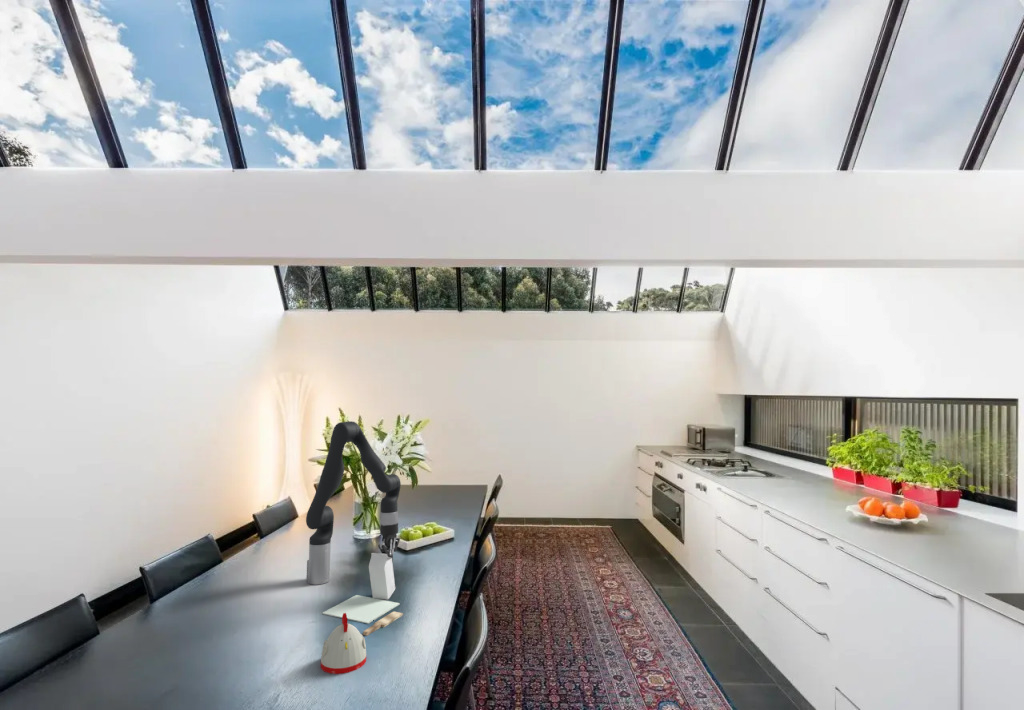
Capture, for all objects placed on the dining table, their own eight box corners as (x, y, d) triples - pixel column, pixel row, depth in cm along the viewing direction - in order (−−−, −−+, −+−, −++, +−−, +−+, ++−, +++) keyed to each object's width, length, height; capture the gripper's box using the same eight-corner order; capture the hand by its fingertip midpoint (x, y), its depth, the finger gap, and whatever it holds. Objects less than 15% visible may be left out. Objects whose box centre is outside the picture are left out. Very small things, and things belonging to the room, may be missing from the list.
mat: (322, 613, 207) (322, 612, 207) (356, 595, 225) (356, 594, 225) (368, 623, 198) (368, 622, 198) (399, 604, 216) (399, 603, 216)
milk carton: (388, 600, 220) (383, 559, 216) (372, 598, 222) (367, 558, 218) (395, 589, 227) (390, 549, 223) (380, 588, 229) (375, 548, 225)
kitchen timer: (322, 677, 161) (323, 626, 162) (319, 656, 173) (320, 609, 174) (369, 668, 166) (370, 618, 167) (363, 648, 179) (364, 602, 180)
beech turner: (370, 636, 188) (370, 632, 188) (359, 634, 189) (360, 630, 189) (403, 615, 206) (403, 612, 206) (393, 613, 208) (393, 610, 208)
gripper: (391, 518, 236) (391, 558, 234) (372, 525, 224) (372, 567, 222) (405, 519, 233) (405, 560, 231) (387, 526, 221) (387, 569, 219)
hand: (389, 563), depth 227 cm, fingers closed
